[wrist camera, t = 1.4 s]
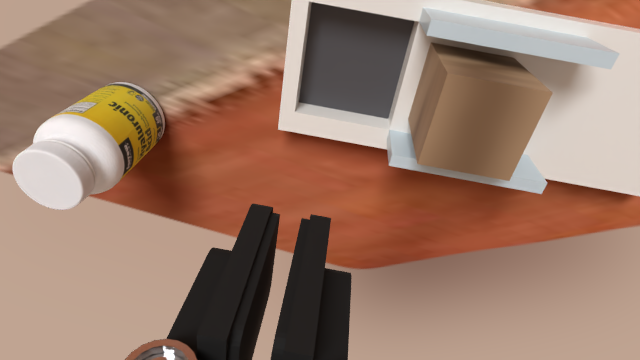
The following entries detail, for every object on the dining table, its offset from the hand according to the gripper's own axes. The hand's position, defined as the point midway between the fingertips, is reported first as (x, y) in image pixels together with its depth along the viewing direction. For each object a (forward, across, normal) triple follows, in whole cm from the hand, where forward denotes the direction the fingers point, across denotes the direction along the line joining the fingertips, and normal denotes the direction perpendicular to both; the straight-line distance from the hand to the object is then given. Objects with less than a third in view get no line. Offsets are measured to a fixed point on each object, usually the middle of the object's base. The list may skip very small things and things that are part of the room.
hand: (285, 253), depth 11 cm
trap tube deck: (+19, -10, 0) cm, 22 cm away
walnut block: (+17, -8, 0) cm, 19 cm away
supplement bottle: (+19, +14, +7) cm, 25 cm away
